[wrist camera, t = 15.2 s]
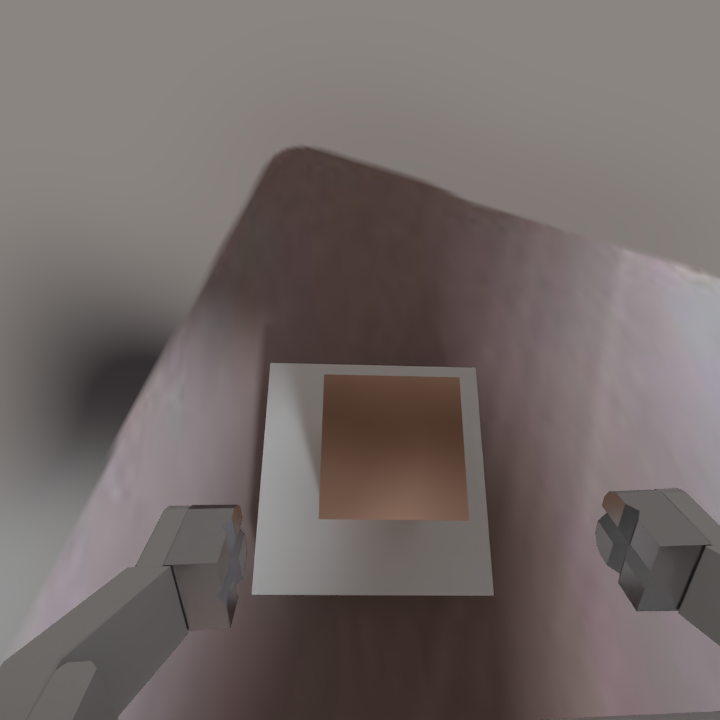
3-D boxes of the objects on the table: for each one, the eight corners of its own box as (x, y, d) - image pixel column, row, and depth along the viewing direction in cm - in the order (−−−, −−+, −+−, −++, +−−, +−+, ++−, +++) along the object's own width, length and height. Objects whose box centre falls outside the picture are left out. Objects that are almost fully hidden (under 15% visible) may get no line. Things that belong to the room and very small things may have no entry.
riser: (471, 584, 26) (493, 595, 22) (264, 583, 26) (251, 594, 22) (458, 386, 30) (475, 367, 26) (279, 382, 30) (270, 362, 26)
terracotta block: (422, 519, 23) (468, 520, 15) (326, 518, 23) (318, 519, 15) (418, 424, 25) (459, 377, 17) (329, 423, 25) (324, 374, 16)
